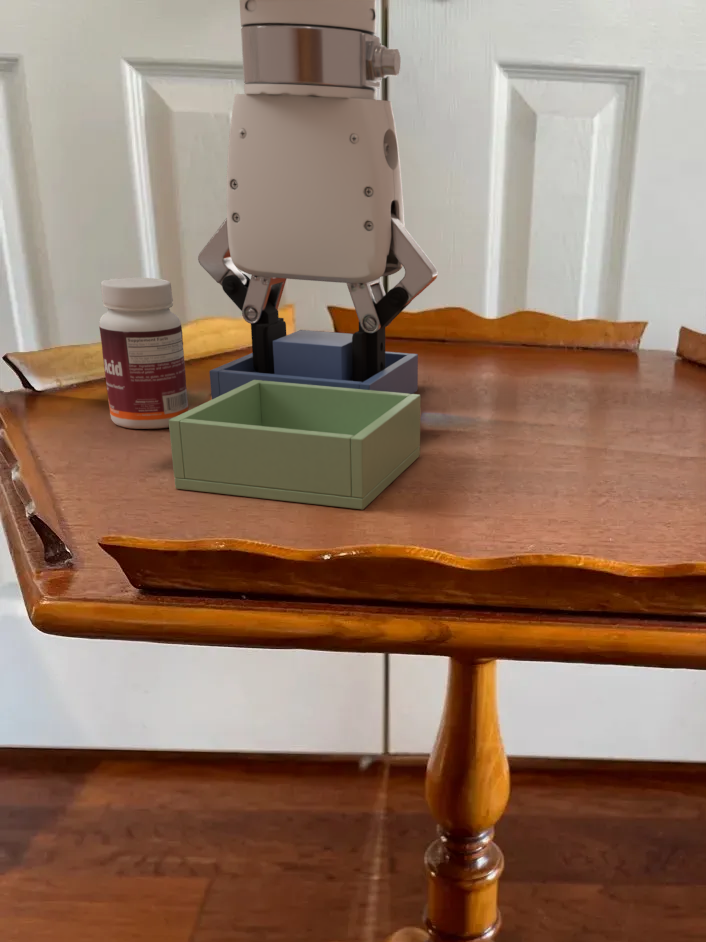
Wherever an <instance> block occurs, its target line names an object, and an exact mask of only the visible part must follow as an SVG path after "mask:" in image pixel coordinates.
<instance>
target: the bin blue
mask: <svg viewBox="0 0 706 942" xmlns="http://www.w3.org/2000/svg"><path fill="white" fill-rule="evenodd" d="M418 372H419V355H418V353H407V352H396V351H395V352H394V351H385V369H384V370H382V371H381V372H379V373H377V374H376V375H374V376H372V377H371V378H369V379H368V380H366V381H364V382H358V381H346V380H335V379H324V378H312V377H301V376H289V375H278V374H267V373H258V372H256V371H255V370H254V367H253V353H252V352H251V353H249V354H246V355H244V356H241V357H239V358H237V359H234V360H232V361H229V362H227V363H224V364H222V365H219V366H218V367H215V368H213V369H210V370H209V381H210V397H211V400H212V399H214V398H216V397H219V396H221V395H223V394H225V393H227V392H229V391H231V390H233V389H236V388H238V387H240V386H242V385H244V384H246V383H248V382H250V381H253V380H262V381H274V382H285V383H296V384H307V385H318V386H330V387H341V388H352V389H363V390H374V391H385V392H397V393H408V394H416V392H418V388H419V387H418V386H419V385H418V384H419V383H418V382H419V374H418Z"/></svg>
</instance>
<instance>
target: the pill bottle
mask: <svg viewBox="0 0 706 942" xmlns="http://www.w3.org/2000/svg"><path fill="white" fill-rule="evenodd" d="M100 289H101V290H100V291H101V301H102V305H103V307H104V308H106V309H107V311H106V312H105V313H103V315H101V316H100V319H99V322H98V327H99V335H100V342H101V352H102V360H103V369H104V376H105V384H106V385H105V386H106V393H107V397H108V398H107V400H108V407H109V415H110V420H111V421H112V422H113V423H114V424H115V425H117V426H119V427H121V428H126V429H135V430H158V429H168V428H169V420H170V419H172V418H174V417H176V416H178V415H180V414H182V413H185V412H187V411H189V410H190V409H189V399H188V389H187V379H186V378H187V377H186V364H185V352H184V340H183V337H184V336H183V328H182V322H181V319H180V317H179V316H178V314H175V313H174V312H172V311H171V309H170V308H172V307H173V306H174V303H173V301H174V298H173V291H172V290H173V289H172V283H171V282H170V281H169V280H166V279H164V278H163V279H162V278H156V277H155V278H154V277H133V276H132V277H116V278H115V277H114V278H109V279H104V280H102V281H101V282H100Z"/></svg>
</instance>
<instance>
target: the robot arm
mask: <svg viewBox="0 0 706 942" xmlns="http://www.w3.org/2000/svg"><path fill="white" fill-rule="evenodd" d="M239 17H240V27H241V28H240V36H241V53H242V54H241V55H242V56H241V57H242V71H243V72H242V73H243V89H244V90H243V91H244V92H243V93H235V94H234V98H233V104H232V109H231V118H230V126H229V132H228V133H229V135H228V144H227V145H228V146H227V160H226V161H227V165H226V218H225V219H224V221H223V222H222V223H221V225H220V226H219V227H218V229H217V230H216V231H215V233H214V234H213V235H212V237H210V239H209V240H208V242H207V243H206V244H205V245H204V247H203V248H202V250H201V251H200V252H199V253H198V257H197V260H198V263H199V265H200V266H201V268H203V269H204V271H206V272H207V273H208V275H209V276H210V277H211V278H212V279H213V280H214V281H215V282H216V283H217V284H219V285H220V286H221V287H222V290H223V292H224V293H225V294H226V296H227V297H228V298H229V300H231V301H232V302H233V304H235V306H236V307H237V308H238V309H239V310H240V311H241V316H242V318H243V320H244V322H246V323H248V324H250V332H251V333H250V334H251V335H250V337H251V353H253V367H254V370H255V371H256V372H258V373H267V374H275V373H274V354H273V341H274V340H277V339H279V338H282V337H284V336H287V323H286V321H285V317H279V310H278V309H279V306H280V303H281V299H282V295H283V293H284V289H285V285H286V282H287V280H298V281H313V282H327V283H342V284H346V286H347V288H348V292H349V295H350V298H351V301H352V303H353V307H354V310H355V313H356V316H357V319H358V331H356V332H354V333H352V334H353V336H352V368H353V381H358V382H364V381H366V380H368V379H369V378H371V377H372V376H374V375H376V374H377V373H379V372H381V371H382V370H384V369H385V352H386V328H387V327H388V326H390V325H391V324H392V322H393V321H394V320H395V318H396V317H398V316H399V315H400V314H401V313H402V312H403V311H404V310H405V309H406V308H407V307H408V306H409V305H410V304H411V303H412V301H413V300H415V299H416V298H417V297H418V296H419V295H420V294H422V292H424V290H425V289H427V288H428V287H429V286H431V284H432V283H433V282H435V280H436V279H437V278H438V273H439V272H438V269H437V267H436V266H435V265H434V263H433V262H432V260H431V259H430V258H429V257H428V255H427V254H426V253H425V251H424V250H423V249H422V248H421V246H420V245H419V244H418V243H417V241H416V240H415V239H414V237H413V236H412V234H411V233H410V232H409V231H408V230H407V228H406V224H405V207H404V190H403V180H402V168H401V157H400V148H399V139H398V133H397V127H396V120H395V115H394V110H393V109H394V108H393V105H392V101H391V100H383V99H378V91H377V90H380V89H381V82H382V79H387V77H399V75H400V74H401V68H402V59H401V58H402V57H401V52H400V50H399V49H398V48H387V46H386V45H382V43H381V37H380V36H377V0H239ZM402 268H403V269H404V276H403V278H402V279H401V280H399V282H398V283H397V284H396V285H395V286H393V287H392V288H391V289H389V290H388V291H387V292H386V291H385V288H384V285H383V282H382V279H381V278H382V277H388V276H392V275H394V274H397V273H398V272H399V271H401V270H402ZM247 274H248V275H251V276H250V277H249V276H248V275H247Z"/></svg>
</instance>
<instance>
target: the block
mask: <svg viewBox="0 0 706 942" xmlns="http://www.w3.org/2000/svg"><path fill="white" fill-rule="evenodd" d="M353 334H354V333H347V332H346V333H345V332H335V331H334V332H333V331H321V330H309V329H299V330H296V331H294V332H292V333H290V334H286V336H284V337H282V338H279V339H277V340H274V341H273V354H274V373H275V374H278V375H289V376H301V377H312V378H324V379H335V380H346V381H353V368H352V336H353Z"/></svg>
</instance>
